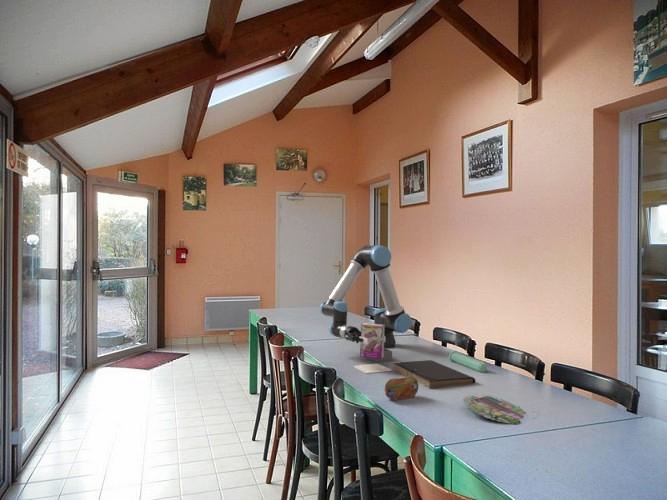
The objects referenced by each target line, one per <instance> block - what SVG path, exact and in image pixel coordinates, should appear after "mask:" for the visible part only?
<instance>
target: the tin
mask: <svg viewBox="0 0 667 500" xmlns="http://www.w3.org/2000/svg"><path fill="white" fill-rule="evenodd" d="M384 385H385V386H384V393H385V396H386V397H387V398H388V399H390V400H392V401H396V402H397V401H401V400H407V399H411V398H414V397H415V396H416V395H417V394H418V391H419V382H417V380H416V379H415V378H414V377H410V376H405V375H404V376H400V377H394V378H390V379H388V380H387V382H385V384H384Z"/></svg>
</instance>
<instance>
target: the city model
mask: <svg viewBox="0 0 667 500" xmlns="http://www.w3.org/2000/svg"><path fill="white" fill-rule="evenodd" d="M462 402H463V403H464V405H466V407H467V409H468V410H470V411H472V412H474V413H475V414H476V415H479V416H480V417H484V418H486V419H490V420H492V421H497V422H500V423H504V424H505V423H506V424H511V425H512V426H513V425H517V423H518V422H519V423H521V420H522V419H523V418H524V417H525V416H526V411H524V410H522V408H521V406H520V405H519V406H517V405H515V404H513V403H511V402H509V401H507V400H505V399H503V398H498V397H497V396H496V397H495V396H491V395H490V396H489V395H485V394H469V395H467V396H464V397H463V399H462ZM519 423H518V424H519Z"/></svg>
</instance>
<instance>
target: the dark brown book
mask: <svg viewBox="0 0 667 500" xmlns="http://www.w3.org/2000/svg"><path fill="white" fill-rule="evenodd" d="M392 365H393V366H392V371H393V370H394V371H395V372H397V373H399V374H401V375H403V376H404V377H405V376H410V377H414V378H415V379H416V380H417V382H418V384H419V383H420V384H422V385H423V386H424V387H427V388H428V389H440V388H448V387H455V386H463V385H472V384H475V383H476V378H475V377H473V376H471V375H468V374H465V373H463V372H460V371H459V370H456V369H453V368H452V367H448V366H447V365H444V364H441V363H439V362H437V361H434V360H431V359H430V360H414V361H412V360H411V361H400V362H393V363H392Z"/></svg>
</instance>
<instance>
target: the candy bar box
mask: <svg viewBox="0 0 667 500" xmlns="http://www.w3.org/2000/svg"><path fill="white" fill-rule="evenodd" d="M384 330H385V325H379V324H374V323H365V322H364V323H362V324H360V331H361V337H365V338H368V344H364V343H361V342H360V349H359V350H360V351H359V357H360V358H366V359H368V358H375V359H382V358H383V357H384Z"/></svg>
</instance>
